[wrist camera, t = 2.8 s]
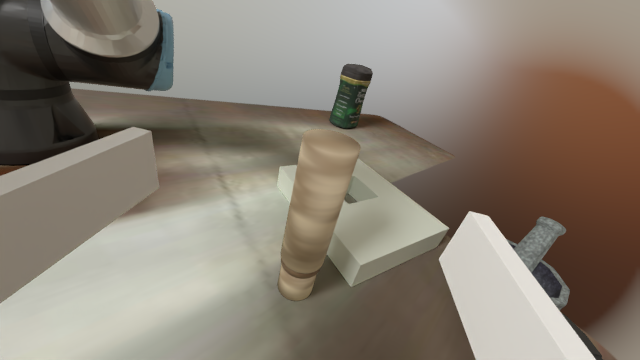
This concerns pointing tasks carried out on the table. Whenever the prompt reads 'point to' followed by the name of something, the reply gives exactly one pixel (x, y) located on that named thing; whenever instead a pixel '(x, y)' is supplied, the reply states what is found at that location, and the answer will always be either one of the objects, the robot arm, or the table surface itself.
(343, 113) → the coffee jar
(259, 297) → the table surface
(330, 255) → the board
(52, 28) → the robot arm
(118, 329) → the table surface
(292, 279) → the beech leg
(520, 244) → the mortar and pestle
